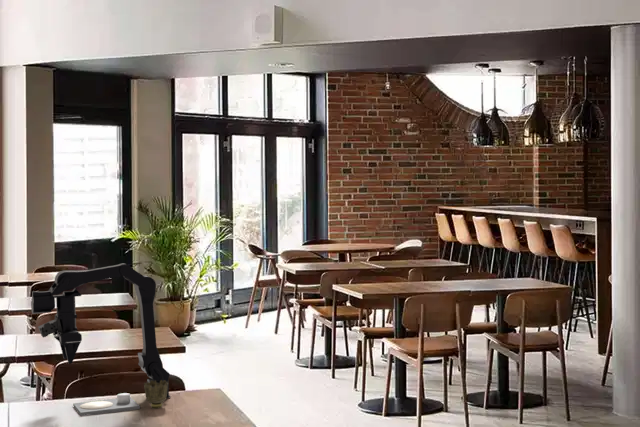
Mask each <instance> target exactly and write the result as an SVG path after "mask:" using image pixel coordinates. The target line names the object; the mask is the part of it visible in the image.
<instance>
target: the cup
mask: <svg viewBox="0 0 640 427" xmlns="http://www.w3.org/2000/svg"><path fill="white" fill-rule="evenodd" d="M146 383H147V384H146ZM143 386H144V387H143V388H144V393H145V399H146V401H147V402H148V403H149V404H150V407H151V408H152V409H153V410H155V409H161V408H162V407H163V405H164V404H163V403H164V402H165V401H166V399H167V398H166V397H167V390H168V381H167V382H166V381H165V380H164V381H162V380H161V381H160V383H159V382H158V383H157V382H156V380H155V381H152V380H151V381H150V383H149V382H148V381H145V382H144V383H143Z"/></svg>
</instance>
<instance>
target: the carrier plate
mask: <svg viewBox="0 0 640 427" xmlns="http://www.w3.org/2000/svg"><path fill="white" fill-rule="evenodd" d="M72 405H73V406H74V407H75V408H74V407H73V406H72V407H73V408H74V409H75V410H77V411H78V412H77V411H76V412H77V413H78V414H79V416H80V415H81V416H80V417H84V416H90V415H91V416H92V415H98V414H99V415H100V413H101V414H109V413H108V412H110V413H116V412H125V411H127V412H128V411H132V410H133V411H134V410H135V411H136V410H140V409H141V406H140V404H139V403H137V402H136V401H135V400H134V399H133V398H132V397H131V393H127V392H123V393H118V394H117V395H116V398H110V399H109V398H107V399H101V400H92V401H91V400H90V401H83V402H82V401H81V402H73V403H72Z"/></svg>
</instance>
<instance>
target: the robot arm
mask: <svg viewBox="0 0 640 427" xmlns="http://www.w3.org/2000/svg"><path fill="white" fill-rule="evenodd" d="M120 277H123V278H124V279H125V280H127V281H128V282H130V283H131V284H132V285H133V287H134V288H133V289H134V291H135V295H136V297H137V300H138V304H139V308H140V309H139V310H140V311H139V312H140V323H141V335H142V351H141V352H137V357H138V366H139V367H140V369H141V371H143V372H144V373H145V374H146V375H147V377H148V378H147V381H148V382H149V383H150V381H151V380H152V381H155V380H156V382H157V383H158V382H159V383H160V381H161V380H162V381H164V380H165V381H166V382H167V381H168V390H167V397H166V399H171V395H170V384H169V382H170V381H169V377H170V375H171V374H170V372H169V371H168V370H166V369H165V368H164V367H163V362H162V360H161V355H160V352H159V349H158V346H157V337H156V336H157V335H156V325H155V314H154V313H155V311H154V302H155V298H156V289H157V288H156V287H157V283H156V280H154V278H152V277H151V276H147V275H145V274H144V275H143V274H141V273H140V272H139V271H137V270H135V269H134V268H132V267H131V266H130V264H127V263H119V264H115V265H108V266H103V267H98V268H92V269H87V270H86V269H85V270H60V271H59V272H57V273H56V275H55V277H54V282H53V284H52V285H51V287H50V288H49V289H48V290H46V291H37V290H36V291H31V301H30V307H31V308H30V309H31V314H32V315H33V314H35V315H36V314H46V313H47V314H48V313H52V311H54V310H55V308H56V314H54V319H52V320H50V321H47V322H45V323H43V324H40V325H38V326H37V329H38V332H40V333H39V334H40V336H42V338H46V337H48V336H50V335H51V334H52V335H53V338H55V340H57V342H59V345H60V350H61V354H62V357H63V359H64V360H67V363H68V364H72V363H73V361H74V360H75V357H76V354H77V352H78V349H79V347H80V344H81V343H82V342H83V341H82V340H83V337H82V333H80V332H79V331H78V327H77V319H78V314H76V297H82V296H83V295H82V293H81V292H79V291H78V289H77V288H78V287H80V286H82V285H85V284H88V283H93V282H97V281H99V282H100V281H103V280H108V279H115V278H120ZM147 381H146V384H147Z"/></svg>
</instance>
